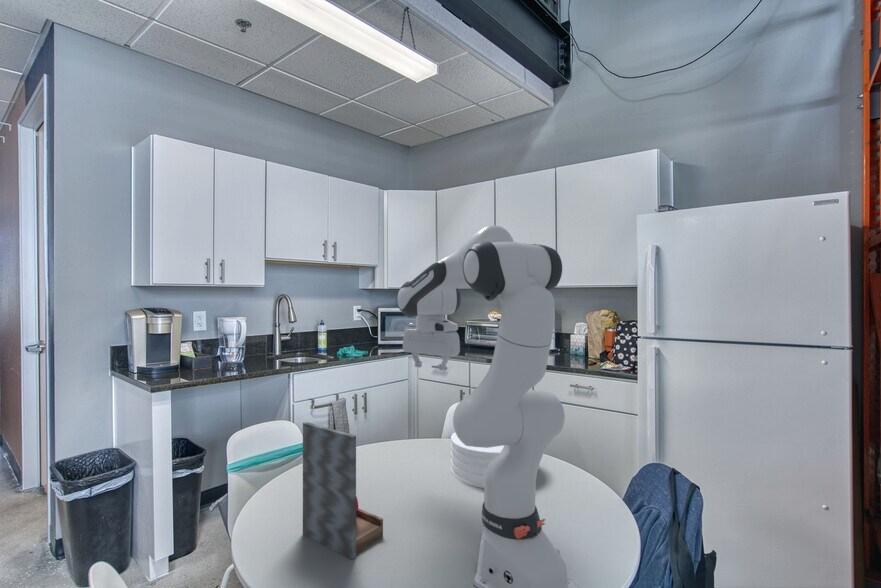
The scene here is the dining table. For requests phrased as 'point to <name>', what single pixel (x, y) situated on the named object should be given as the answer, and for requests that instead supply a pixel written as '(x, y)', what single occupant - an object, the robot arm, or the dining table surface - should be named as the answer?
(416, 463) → the dining table surface
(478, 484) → the plate stack
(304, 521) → the ledge shelf
